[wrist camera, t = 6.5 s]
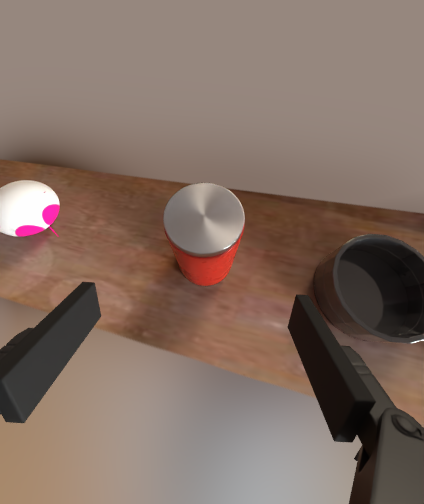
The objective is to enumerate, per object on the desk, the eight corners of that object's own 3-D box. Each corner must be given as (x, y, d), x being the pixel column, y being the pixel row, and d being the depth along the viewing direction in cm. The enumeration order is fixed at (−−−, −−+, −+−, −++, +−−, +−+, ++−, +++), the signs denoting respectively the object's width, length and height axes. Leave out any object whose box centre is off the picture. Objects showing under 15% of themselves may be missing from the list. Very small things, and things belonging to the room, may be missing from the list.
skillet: (421, 286, 27) (461, 277, 23) (383, 364, 24) (420, 371, 20) (341, 232, 30) (363, 215, 25) (295, 296, 26) (312, 289, 22)
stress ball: (44, 255, 31) (27, 261, 25) (-11, 212, 28) (-45, 207, 22) (86, 219, 33) (80, 217, 27) (39, 176, 30) (21, 162, 24)
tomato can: (241, 258, 28) (262, 212, 17) (208, 298, 26) (208, 273, 15) (203, 228, 29) (200, 168, 19) (168, 264, 28) (143, 219, 17)
